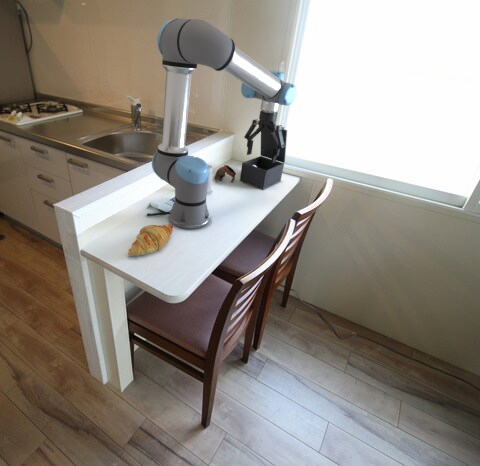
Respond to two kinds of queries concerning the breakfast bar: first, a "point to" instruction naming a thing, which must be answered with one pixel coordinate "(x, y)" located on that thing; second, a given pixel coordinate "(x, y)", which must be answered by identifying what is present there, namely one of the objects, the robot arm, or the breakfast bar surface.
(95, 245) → the breakfast bar surface
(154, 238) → the croissant
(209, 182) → the beverage can
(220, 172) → the broken terracotta ring
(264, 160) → the open cubby box
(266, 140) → the lid
